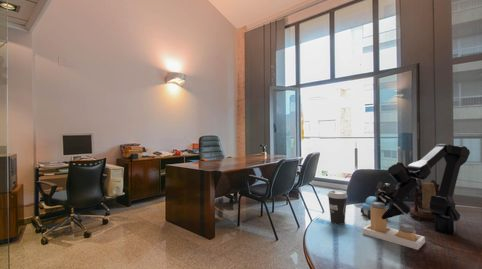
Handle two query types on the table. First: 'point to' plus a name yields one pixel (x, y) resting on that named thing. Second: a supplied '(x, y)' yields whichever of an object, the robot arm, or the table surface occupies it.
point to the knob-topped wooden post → (378, 217)
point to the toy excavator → (368, 203)
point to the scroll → (424, 201)
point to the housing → (394, 237)
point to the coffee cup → (337, 206)
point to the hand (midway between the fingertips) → (377, 214)
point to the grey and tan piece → (407, 232)
